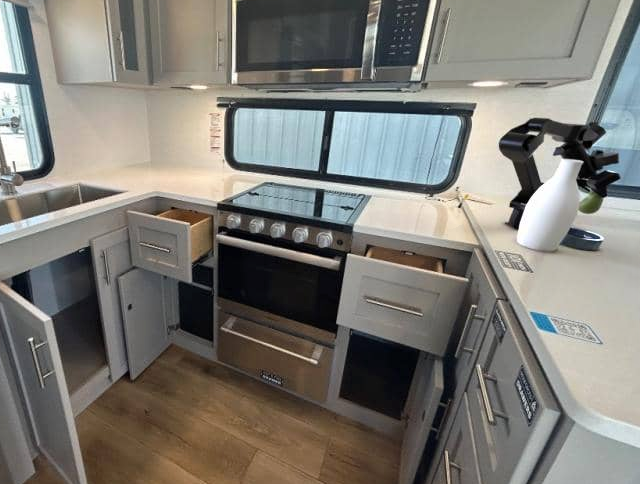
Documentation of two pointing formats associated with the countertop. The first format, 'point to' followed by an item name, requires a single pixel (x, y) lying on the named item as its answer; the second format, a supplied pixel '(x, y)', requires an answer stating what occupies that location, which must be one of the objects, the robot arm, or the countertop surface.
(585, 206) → the pear
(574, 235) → the holder
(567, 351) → the countertop surface
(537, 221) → the bottle
